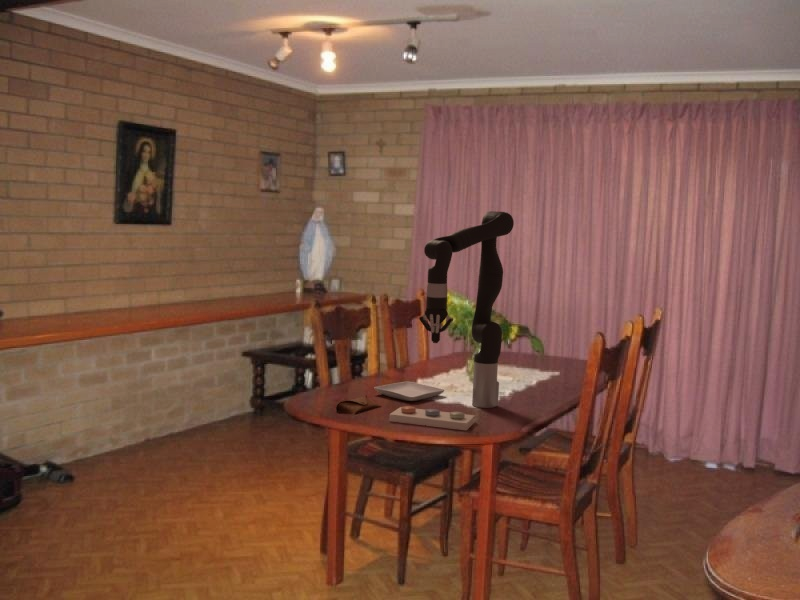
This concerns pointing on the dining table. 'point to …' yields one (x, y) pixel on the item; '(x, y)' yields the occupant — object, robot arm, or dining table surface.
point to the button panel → (432, 419)
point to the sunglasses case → (356, 405)
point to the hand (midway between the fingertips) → (435, 342)
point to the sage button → (457, 415)
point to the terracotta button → (408, 409)
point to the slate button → (432, 412)
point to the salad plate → (409, 391)
